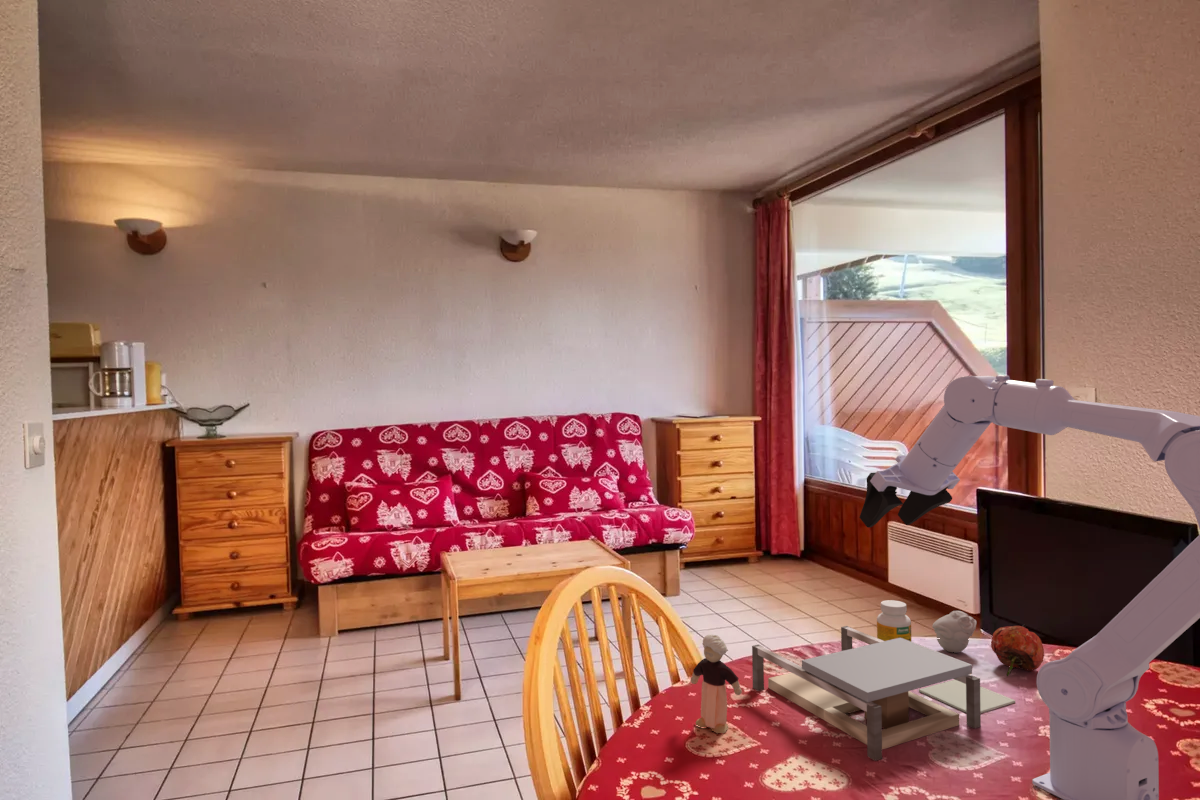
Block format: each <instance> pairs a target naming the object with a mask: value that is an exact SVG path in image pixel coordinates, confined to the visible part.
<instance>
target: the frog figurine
mask: <svg viewBox="0 0 1200 800" xmlns="http://www.w3.org/2000/svg"><path fill="white" fill-rule="evenodd" d="M976 628H977V620H976V619H974V617H972V616H971V615H969V614H968V613H966V612H964V611H961V610H953V611H951V612H949V614H946V615H943V616H942V617H939V618H938V619H936V620H935V621H934V622H933V624H932V629H933V630H934V633H935V634H936V641H937V643H938V644H939V645H940V647H941V648H942V649H943V650H944V651H947V652H949V653H953V652H954V653H955V654H957V653H960V652H962V651H965V650H966V648H967V647H968V646H969V641H970V637H973V634H974V632H975V631H976ZM937 638H940V639H937ZM968 639H969V640H968Z"/></svg>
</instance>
